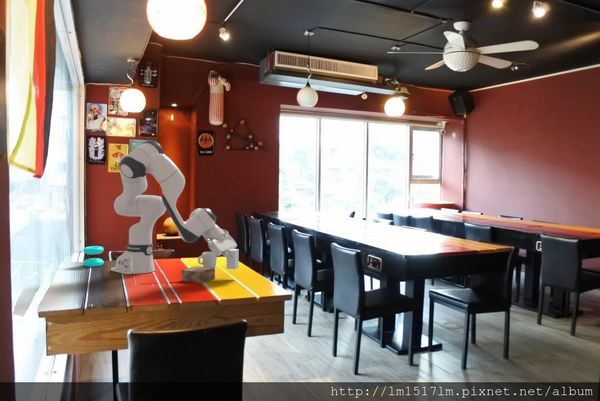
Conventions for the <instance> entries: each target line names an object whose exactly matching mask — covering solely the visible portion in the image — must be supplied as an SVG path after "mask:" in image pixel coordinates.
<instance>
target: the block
mask: <svg viewBox="0 0 600 401" xmlns="http://www.w3.org/2000/svg"><path fill="white" fill-rule="evenodd" d="M227 252H228V254H229V255H231V256H232V257H233V258H232V259H231V260H228V258H226V265H225V266H226V270H236V269H238V268H239V264H240V263H239V258H240V257H239V255H240V253H239V252H240V250H239V248H235V249H229V250H227Z"/></svg>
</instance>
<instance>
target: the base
mask: <svg viewBox="0 0 600 401" xmlns="http://www.w3.org/2000/svg"><path fill="white" fill-rule="evenodd" d="M215 279H216V267H214V268H209V267H204V266H199V265H194V266H192V267H191V266H190V267H188V268H184V269H181V281H183V282H189V283H198V284H203V283H206V282H209V281H211V280H215Z"/></svg>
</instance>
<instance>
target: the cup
mask: <svg viewBox="0 0 600 401" xmlns="http://www.w3.org/2000/svg"><path fill="white" fill-rule="evenodd" d="M201 259H202V261H201ZM217 260H218V256H216V255H214V253H213V252H212V251H204V252H202V253H201V255H200V256H198V258H197V261H198V262H197V263H198V264H199V265H203V266H202V267H209V268H216V266H217Z"/></svg>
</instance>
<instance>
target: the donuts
mask: <svg viewBox="0 0 600 401" xmlns="http://www.w3.org/2000/svg"><path fill="white" fill-rule="evenodd" d="M103 252H104V247H103V246H99V245H92V246H86V247H84V248H83V253H84V254H86V255H99V254H102V253H103ZM82 264H83V266H84V267H86V268H95V267H101V266H102V265H104V260H103V259H102V258H99V257H93V258H91V257H90V258H87V259H84V261H83V263H82Z"/></svg>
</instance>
